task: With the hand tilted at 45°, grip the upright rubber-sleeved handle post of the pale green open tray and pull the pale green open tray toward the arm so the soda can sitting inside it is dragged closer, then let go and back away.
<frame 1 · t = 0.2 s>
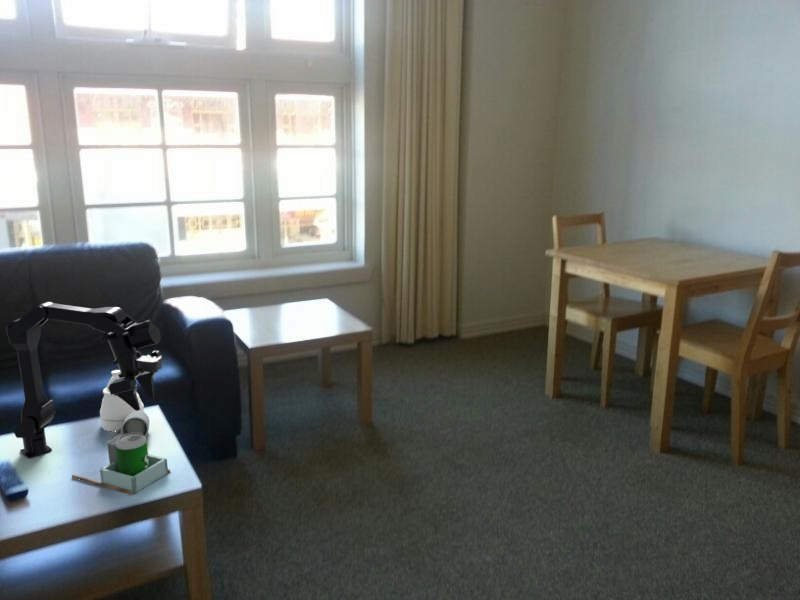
hand: (145, 403, 186), 15 cm above the table, tool tilted 15°, fingers open, 9 cm apart
honey pot: (123, 423, 210), on the table
ceramic mug: (132, 438, 200), on the table
pale green open tray: (131, 460, 174), point 5 cm above the table, slide at 0.0 cm
soda can: (135, 479, 175), resting in pale green open tray
track: (121, 475, 177), on the table
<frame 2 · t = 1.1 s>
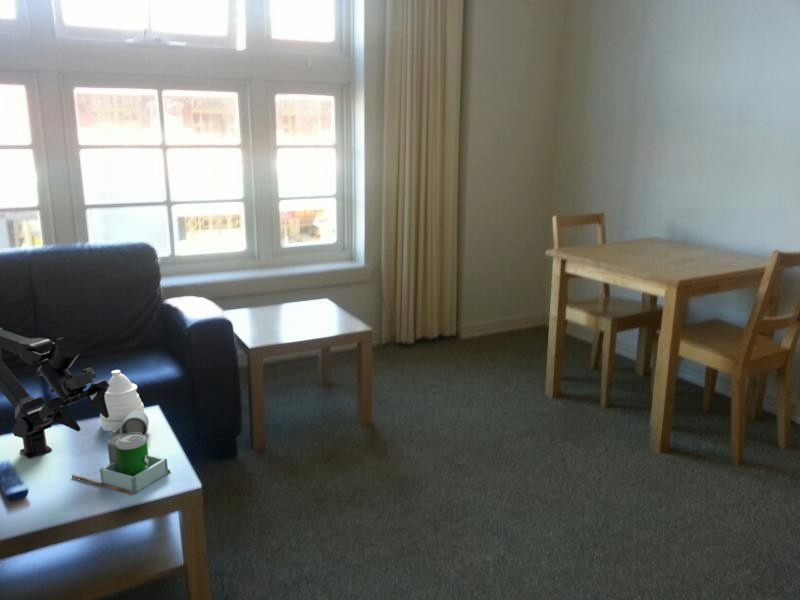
hand: (93, 423, 178), 13 cm above the table, tool tilted 45°, fingers open, 9 cm apart
nothing on the table moved.
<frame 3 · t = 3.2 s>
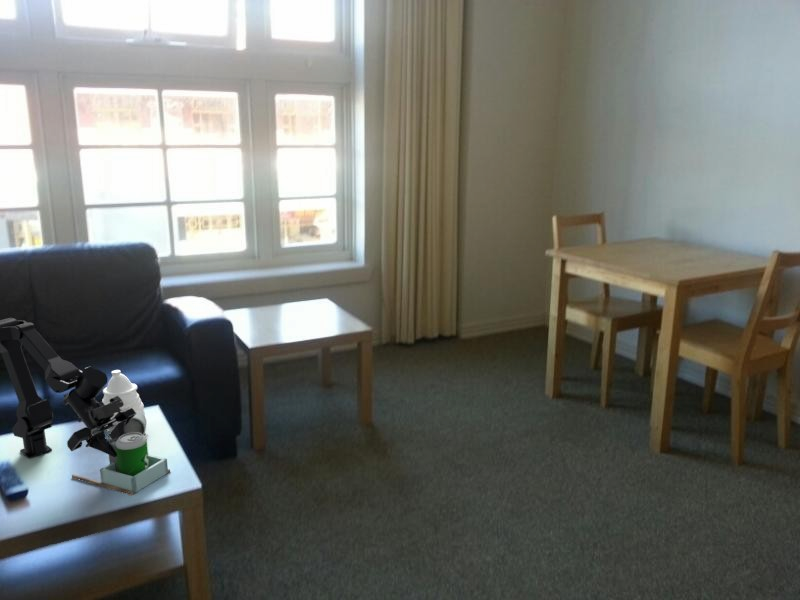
hand: (121, 453, 175), 7 cm above the table, tool tilted 45°, fingers closed on pale green open tray, 3 cm apart
pale green open tray: (131, 460, 174), point 5 cm above the table, slide at 0.0 cm, touching gripper
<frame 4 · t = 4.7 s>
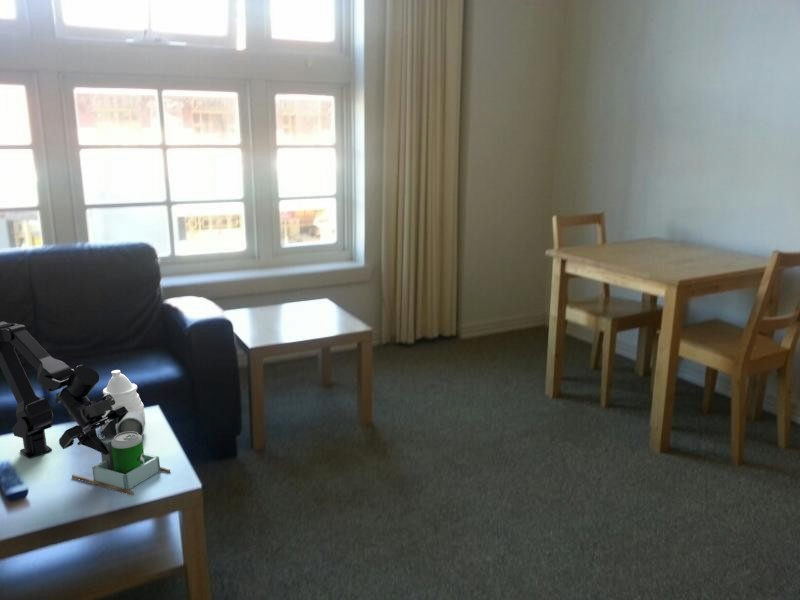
hand: (113, 450, 177), 7 cm above the table, tool tilted 45°, fingers closed on pale green open tray, 3 cm apart
pale green open tray: (124, 458, 176), point 5 cm above the table, slide at 2.8 cm, touching gripper, soda can
soda can: (131, 478, 176), resting in pale green open tray
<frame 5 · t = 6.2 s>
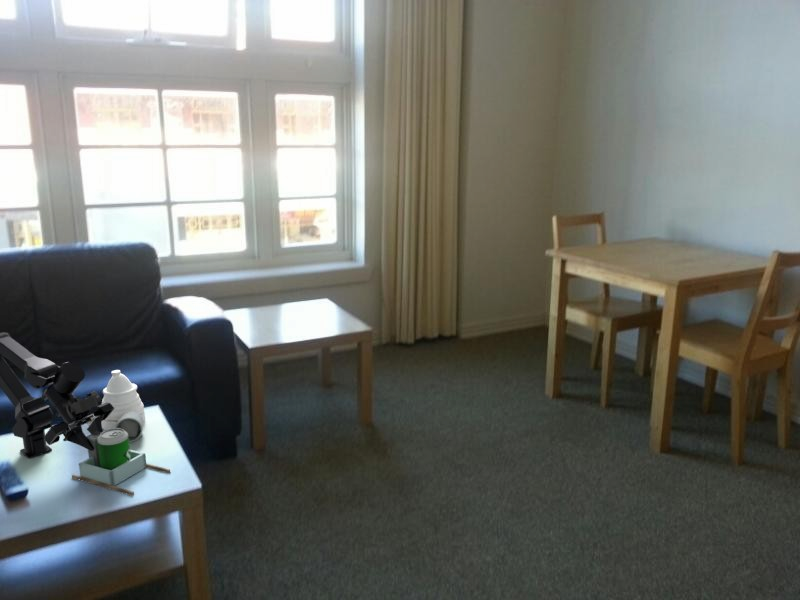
hand: (99, 447, 179), 7 cm above the table, tool tilted 45°, fingers closed on pale green open tray, 3 cm apart
pale green open tray: (110, 455, 178), point 5 cm above the table, slide at 7.7 cm, touching gripper, soda can
soda can: (117, 474, 178), resting in pale green open tray
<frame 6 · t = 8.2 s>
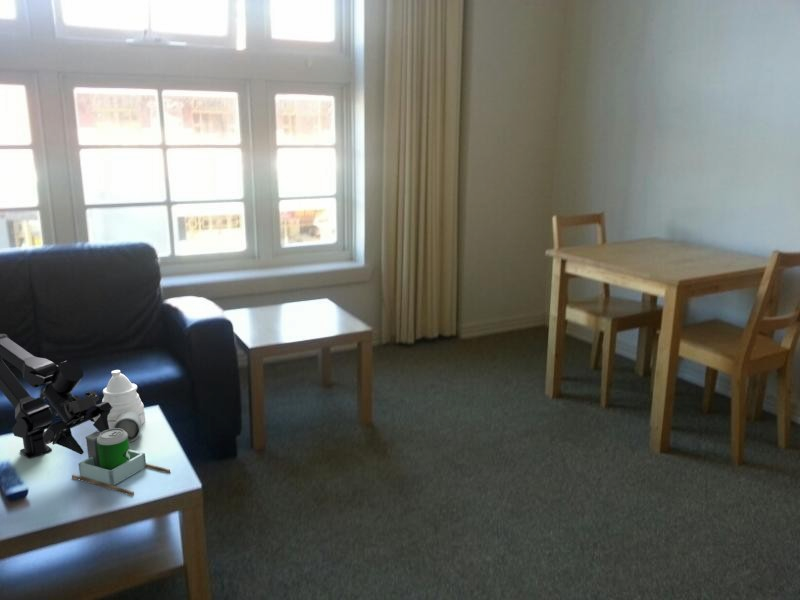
hand: (96, 446, 179), 7 cm above the table, tool tilted 45°, fingers open, 9 cm apart
pale green open tray: (110, 454, 178), point 5 cm above the table, slide at 7.8 cm
soda can: (116, 474, 178), resting in pale green open tray
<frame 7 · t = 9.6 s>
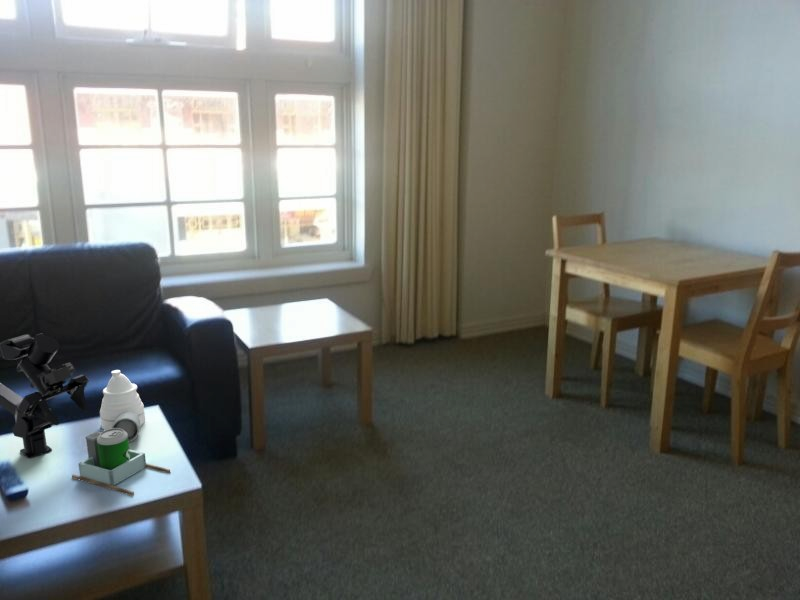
hand: (73, 417, 181), 14 cm above the table, tool tilted 45°, fingers open, 9 cm apart
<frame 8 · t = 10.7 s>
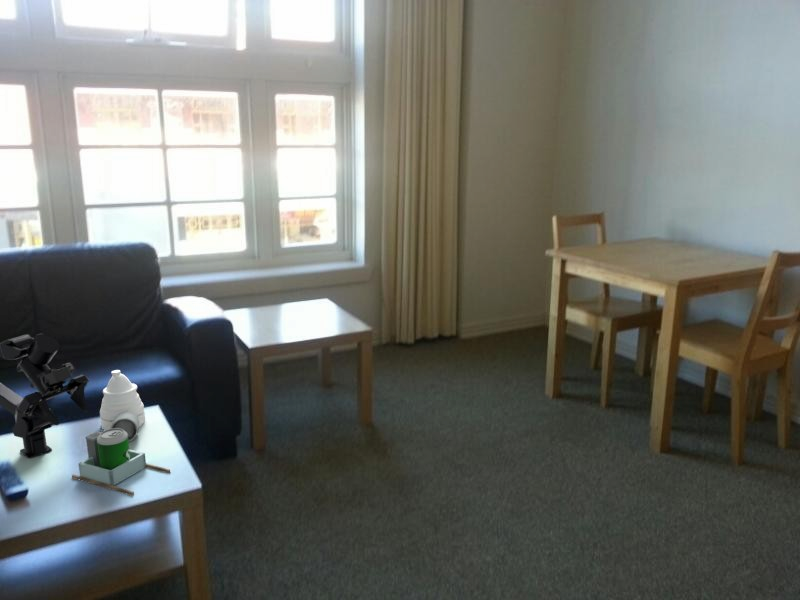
hand: (73, 417, 181), 14 cm above the table, tool tilted 45°, fingers open, 9 cm apart
at the end: pale green open tray slide at 7.8 cm; soda can inside the target area (1.3 cm from its centre), resting in pale green open tray; soda can tilted 0° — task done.
